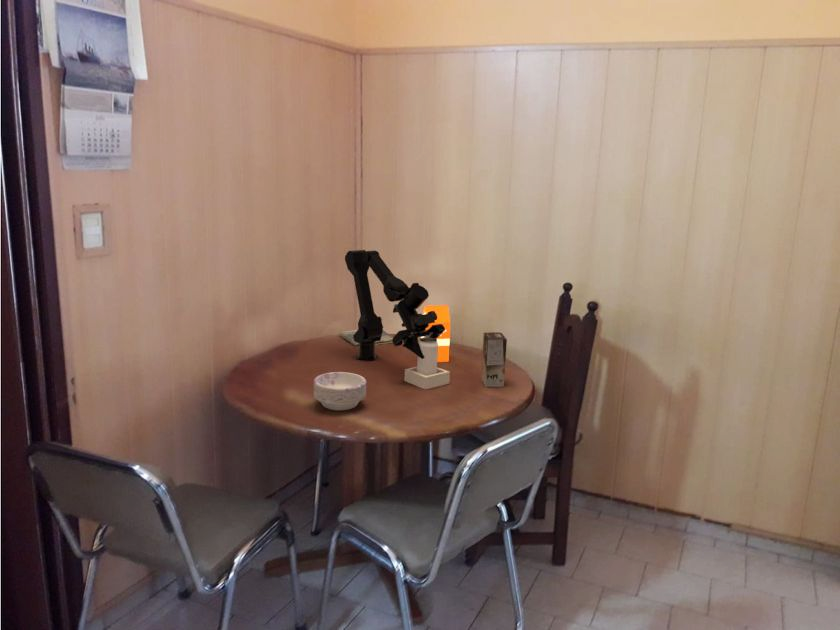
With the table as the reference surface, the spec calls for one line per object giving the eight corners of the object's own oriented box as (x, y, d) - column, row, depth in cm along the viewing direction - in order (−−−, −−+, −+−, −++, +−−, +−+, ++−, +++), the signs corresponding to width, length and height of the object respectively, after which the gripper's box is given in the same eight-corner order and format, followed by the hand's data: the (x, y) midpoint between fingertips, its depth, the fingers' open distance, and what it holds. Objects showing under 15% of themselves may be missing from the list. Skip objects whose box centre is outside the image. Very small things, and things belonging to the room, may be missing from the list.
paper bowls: (358, 417, 192) (359, 390, 191) (306, 412, 195) (306, 385, 193) (371, 398, 207) (371, 373, 205) (322, 394, 209) (322, 369, 208)
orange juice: (448, 361, 248) (451, 307, 243) (425, 362, 245) (427, 307, 241) (442, 355, 255) (445, 302, 250) (419, 356, 253) (421, 303, 248)
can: (438, 378, 221) (440, 342, 219) (419, 378, 220) (420, 342, 217) (434, 371, 227) (435, 336, 225) (414, 372, 226) (416, 337, 223)
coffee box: (504, 387, 222) (507, 339, 218) (484, 387, 221) (487, 339, 218) (498, 378, 231) (501, 332, 227) (480, 378, 230) (482, 331, 227)
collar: (404, 380, 225) (404, 369, 224) (428, 375, 231) (428, 363, 230) (425, 389, 217) (425, 377, 216) (449, 383, 224) (449, 371, 223)
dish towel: (355, 348, 262) (356, 340, 261) (338, 337, 277) (338, 329, 276) (399, 344, 270) (399, 336, 270) (379, 333, 286) (380, 325, 285)
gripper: (399, 306, 215) (420, 348, 210) (443, 299, 227) (464, 339, 222) (383, 325, 223) (403, 366, 217) (426, 318, 235) (446, 357, 229)
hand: (430, 356), depth 221 cm, fingers closed on can, 5 cm apart
